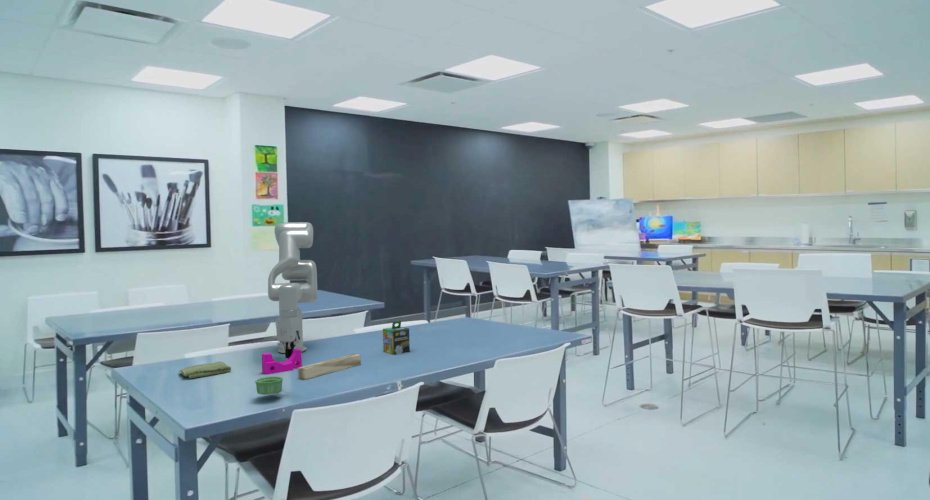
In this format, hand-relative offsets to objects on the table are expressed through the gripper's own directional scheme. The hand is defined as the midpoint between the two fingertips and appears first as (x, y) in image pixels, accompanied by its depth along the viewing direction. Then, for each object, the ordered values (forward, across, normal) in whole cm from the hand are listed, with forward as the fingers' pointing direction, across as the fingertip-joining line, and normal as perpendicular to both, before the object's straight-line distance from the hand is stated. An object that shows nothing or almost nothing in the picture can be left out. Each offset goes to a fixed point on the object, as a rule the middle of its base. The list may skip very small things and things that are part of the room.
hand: (289, 357), depth 239 cm
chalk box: (+3, +24, +41) cm, 48 cm away
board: (+3, +24, 0) cm, 24 cm away
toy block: (+4, +4, -7) cm, 9 cm away
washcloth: (+4, -21, -25) cm, 33 cm away
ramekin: (+4, +28, -33) cm, 43 cm away
